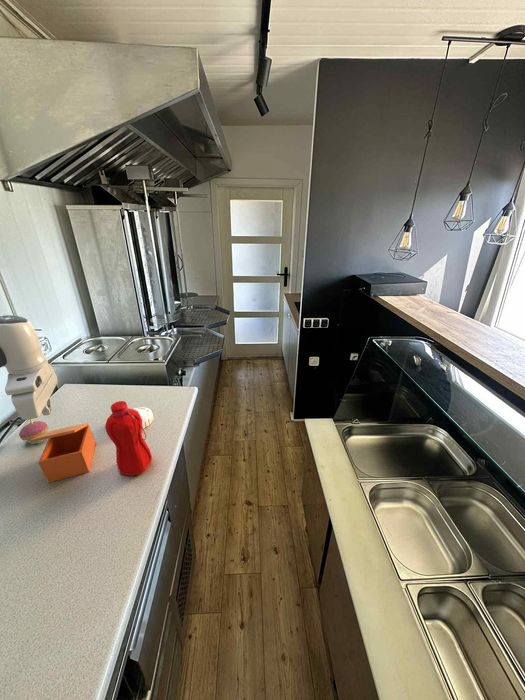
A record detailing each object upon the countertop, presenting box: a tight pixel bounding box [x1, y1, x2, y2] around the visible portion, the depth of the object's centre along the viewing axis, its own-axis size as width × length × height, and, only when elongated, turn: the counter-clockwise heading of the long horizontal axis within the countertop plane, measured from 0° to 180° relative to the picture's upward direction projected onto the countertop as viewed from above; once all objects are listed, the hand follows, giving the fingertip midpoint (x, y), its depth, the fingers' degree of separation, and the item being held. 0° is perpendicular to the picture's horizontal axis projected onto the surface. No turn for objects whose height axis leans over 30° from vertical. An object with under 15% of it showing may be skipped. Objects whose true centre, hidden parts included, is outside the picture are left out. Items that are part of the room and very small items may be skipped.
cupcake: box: [18, 419, 49, 445], centre depth 105 cm, size 9×8×12 cm
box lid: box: [29, 422, 90, 443], centre depth 92 cm, size 14×12×1 cm
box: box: [37, 424, 97, 483], centre depth 95 cm, size 14×12×9 cm
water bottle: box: [104, 400, 153, 477], centre depth 90 cm, size 9×11×25 cm
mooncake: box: [133, 406, 154, 430], centre depth 114 cm, size 12×12×4 cm
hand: (48, 412), depth 85 cm, fingers closed
